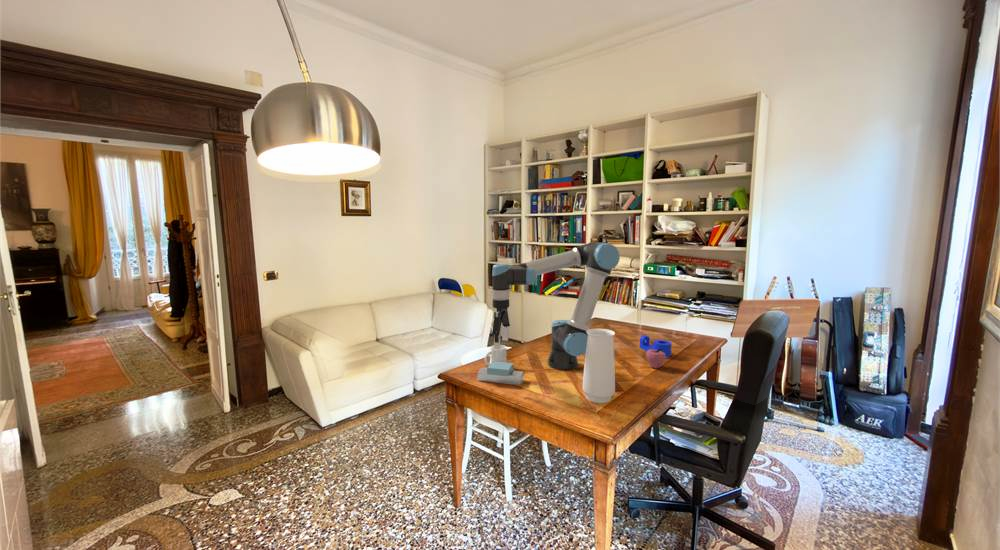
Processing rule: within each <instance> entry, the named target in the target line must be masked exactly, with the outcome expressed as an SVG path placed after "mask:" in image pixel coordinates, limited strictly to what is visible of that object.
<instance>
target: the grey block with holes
mask: <svg viewBox="0 0 1000 550" xmlns="http://www.w3.org/2000/svg"><path fill="white" fill-rule="evenodd" d="M477 381H479V382H480V381H481V382H490V383H496V384H497V383H498V384H505V385H513V386H521V385H522V383H523V381H524V371H522V370H514V369H513V371H512V372H511V374H510V375H509V376H499V375H490V374H487V367H483V366H482V367H481V368H480V369H479V370H478V371H477Z"/></svg>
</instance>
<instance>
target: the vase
mask: <svg viewBox="0 0 1000 550" xmlns="http://www.w3.org/2000/svg"><path fill="white" fill-rule="evenodd" d="M586 333H587V334H588V338H587V347H586V353H585V354H584V357H585V358H584V366H583V375H582V376H583V377H582V391H583V392H584V393H585V397H586V400H588V401H590V402H591V403H596V404H605V403H609V402H610V401H611V399H612V397H613V395H615V393H616V373H615V370H616V369H615V367H616V366H615V350H614V349H615V345H614V336H615V334H616V332H615V331H614V330H611V329H608V328H599V327H598V328H590V329H589V330H587V331H586Z"/></svg>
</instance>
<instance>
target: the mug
mask: <svg viewBox="0 0 1000 550" xmlns="http://www.w3.org/2000/svg"><path fill="white" fill-rule="evenodd" d="M488 357H489V361H488ZM493 361H496V362H506V363H507V346H506V345H503V344H500V350H499V349H494V344H493V345H491V346H490V347H489V351H488V352H486V353H485V355H484V363H485V365H486V366H487V367H488V366H489V365H490V364H491V363H492V362H493Z"/></svg>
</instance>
